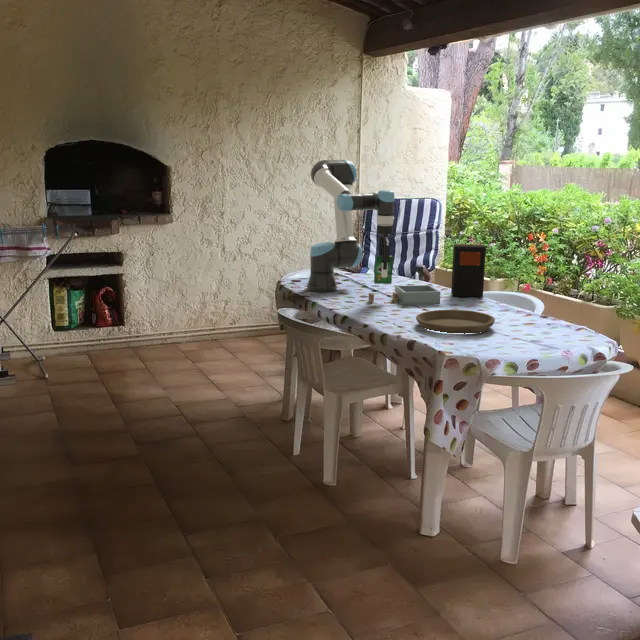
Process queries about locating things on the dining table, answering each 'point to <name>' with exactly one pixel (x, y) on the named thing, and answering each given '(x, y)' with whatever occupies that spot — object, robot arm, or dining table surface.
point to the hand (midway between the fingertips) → (383, 275)
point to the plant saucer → (455, 321)
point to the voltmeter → (468, 270)
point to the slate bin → (418, 295)
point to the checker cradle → (395, 297)
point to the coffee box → (377, 275)
